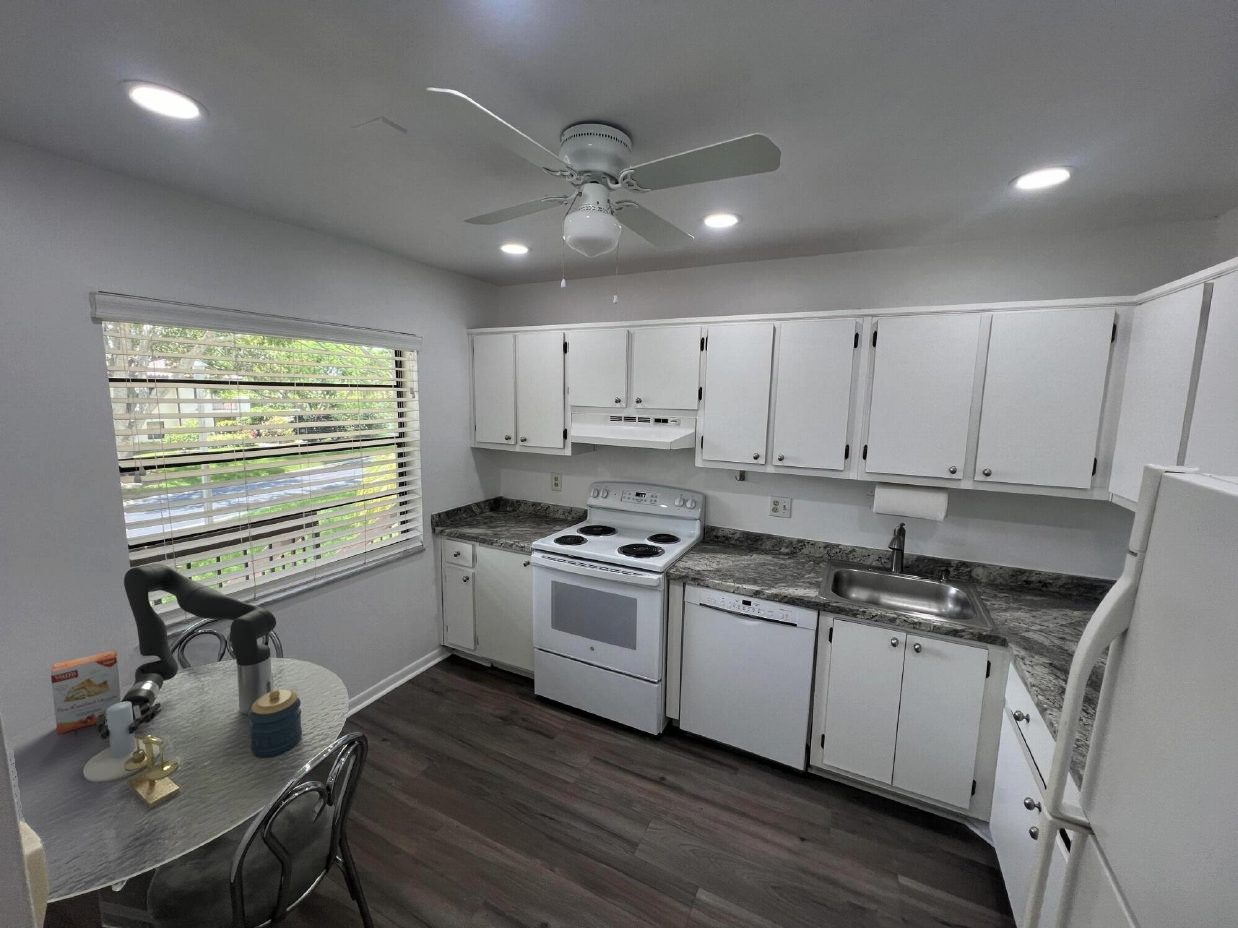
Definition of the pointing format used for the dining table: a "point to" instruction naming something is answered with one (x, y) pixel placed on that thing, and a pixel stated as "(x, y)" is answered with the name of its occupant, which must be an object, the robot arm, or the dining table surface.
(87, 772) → the cream plate
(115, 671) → the cracker box
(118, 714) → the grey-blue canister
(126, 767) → the brass balance
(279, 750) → the canister
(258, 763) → the dining table surface
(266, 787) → the dining table surface
